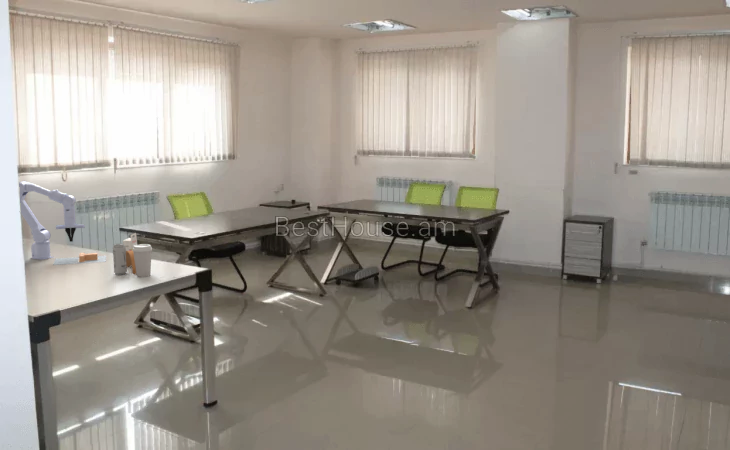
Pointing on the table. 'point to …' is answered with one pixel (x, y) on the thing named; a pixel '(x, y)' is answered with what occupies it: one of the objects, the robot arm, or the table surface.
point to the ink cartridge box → (130, 242)
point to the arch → (130, 260)
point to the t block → (87, 257)
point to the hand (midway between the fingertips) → (71, 241)
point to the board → (77, 260)
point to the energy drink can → (119, 259)
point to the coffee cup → (142, 259)
